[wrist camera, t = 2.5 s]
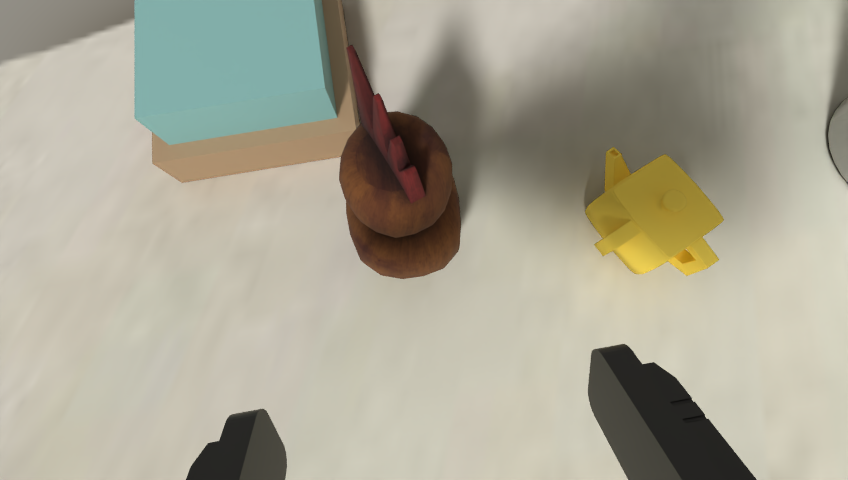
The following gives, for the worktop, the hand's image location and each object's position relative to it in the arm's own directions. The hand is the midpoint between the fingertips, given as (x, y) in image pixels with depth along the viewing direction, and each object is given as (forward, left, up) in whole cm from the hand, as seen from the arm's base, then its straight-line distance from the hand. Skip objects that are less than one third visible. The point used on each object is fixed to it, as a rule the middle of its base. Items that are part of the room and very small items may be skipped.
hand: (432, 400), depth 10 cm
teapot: (-13, -6, -15) cm, 21 cm away
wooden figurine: (0, -8, -15) cm, 17 cm away
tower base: (+8, -20, -14) cm, 26 cm away
